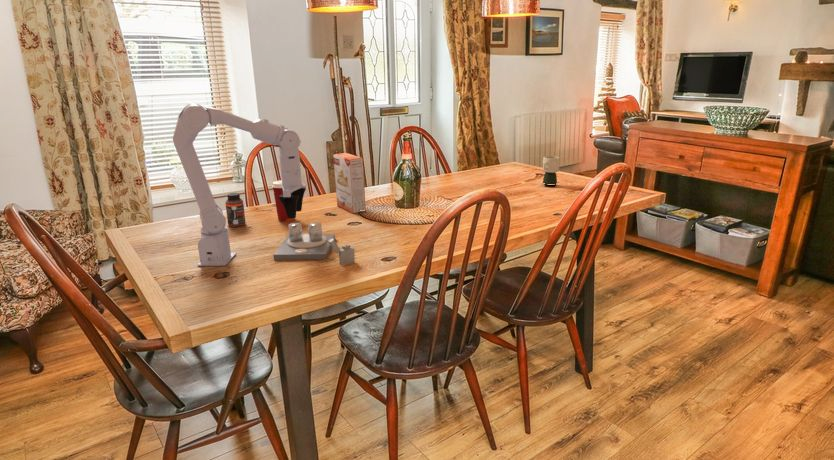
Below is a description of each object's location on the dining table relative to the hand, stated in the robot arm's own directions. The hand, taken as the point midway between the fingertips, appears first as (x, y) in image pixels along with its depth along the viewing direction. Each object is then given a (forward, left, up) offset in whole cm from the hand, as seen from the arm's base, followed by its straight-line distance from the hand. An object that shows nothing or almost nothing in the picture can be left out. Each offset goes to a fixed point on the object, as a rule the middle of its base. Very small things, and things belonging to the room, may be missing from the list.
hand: (294, 214), depth 158 cm
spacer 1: (0, 0, -8) cm, 8 cm away
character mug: (+77, -96, -11) cm, 124 cm away
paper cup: (+30, +11, -11) cm, 34 cm away
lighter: (-15, -16, -11) cm, 24 cm away
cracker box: (+43, -11, -11) cm, 46 cm away
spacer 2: (0, -6, -8) cm, 10 cm away
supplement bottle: (+24, +27, -11) cm, 38 cm away
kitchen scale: (-2, -3, -10) cm, 11 cm away
